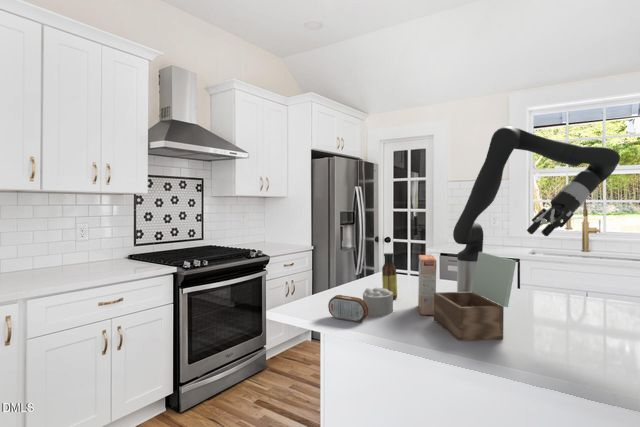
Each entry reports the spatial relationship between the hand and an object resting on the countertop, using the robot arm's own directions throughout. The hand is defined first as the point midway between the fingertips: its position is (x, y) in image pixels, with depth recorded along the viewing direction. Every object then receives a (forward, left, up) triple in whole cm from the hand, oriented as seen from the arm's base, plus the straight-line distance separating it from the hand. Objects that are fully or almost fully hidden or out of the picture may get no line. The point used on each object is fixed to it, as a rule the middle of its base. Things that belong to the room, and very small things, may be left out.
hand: (536, 233), depth 128 cm
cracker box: (+14, -34, -32) cm, 49 cm away
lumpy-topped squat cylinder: (+31, -44, -32) cm, 62 cm away
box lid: (+13, -8, -14) cm, 21 cm away
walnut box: (+21, -12, -32) cm, 40 cm away
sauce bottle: (+12, -56, -32) cm, 65 cm away
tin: (+46, -43, -32) cm, 71 cm away
